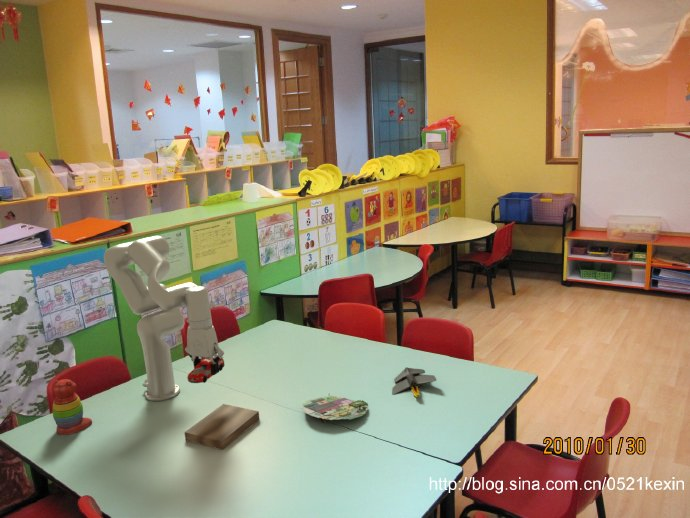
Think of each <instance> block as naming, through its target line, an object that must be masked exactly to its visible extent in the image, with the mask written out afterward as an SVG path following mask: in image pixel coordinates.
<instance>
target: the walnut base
mask: <svg viewBox="0 0 690 518" xmlns="http://www.w3.org/2000/svg"><path fill="white" fill-rule="evenodd" d="M259 420H260V411H258V410H253V409H250V408H245V407H239V406H235V405H230V404H226V403H223V404H221V405H219V407H217V408H215V410H213V411H212V412H210V413H209V414H207V415H206V416H204V417H203V418H202V419H200V420H199V421H198V422H196V423H195V424H193V425H191V427H189V428H188V429H187V430H185V431H184V437H185V441H186V442H191V443H193V444H199V445H202V446H205V447H210V448H213V449H218V450H222V451H224V450H225V449H226V448H227V447H228V446H229V445H231V444H232V443H233V442H234V441H235V440H237V439H238V438H239V437H240V436H241V435H243V434H244V433H245V432H247V430H249V429H250V428H251V427H253V425H255V424H256V423H257V422H258V421H259Z"/></svg>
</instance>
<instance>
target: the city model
mask: <svg viewBox="0 0 690 518" xmlns="http://www.w3.org/2000/svg"><path fill="white" fill-rule="evenodd" d="M368 406H369V405H368V402H366V401H365V400H363V399H362V400H361V399H359V400H354V399H350V398H349V399H348V398H346V397H341V396H333V395H330V393H328V396H319V397H316V398H313V399H308V400H305V401H304V402H302V406H301V409H302V411H303V412H304V413H305V414H307V415H309V416H311V417H315V418H318V421H319V422H321V421H322V423H325V422H328V420H330V421H333V420H354V419H357V418H360V417H362V416H364V415H365V414H367V413H368V411H369V407H368Z"/></svg>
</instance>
